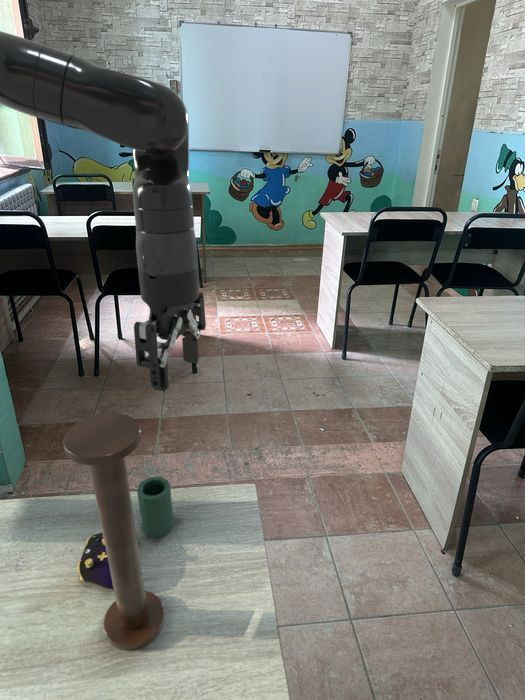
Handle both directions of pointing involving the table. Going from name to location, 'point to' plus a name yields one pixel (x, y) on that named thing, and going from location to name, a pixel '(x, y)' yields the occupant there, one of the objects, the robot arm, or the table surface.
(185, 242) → the robot arm
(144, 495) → the jar
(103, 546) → the gaming controller
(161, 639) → the table surface
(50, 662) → the table surface
